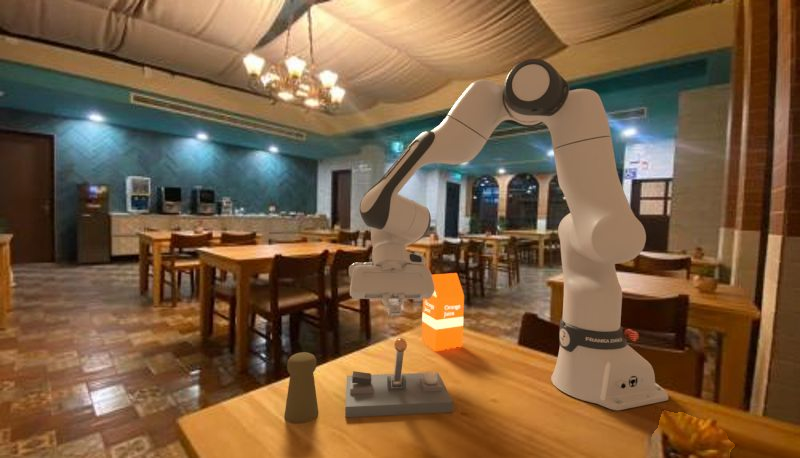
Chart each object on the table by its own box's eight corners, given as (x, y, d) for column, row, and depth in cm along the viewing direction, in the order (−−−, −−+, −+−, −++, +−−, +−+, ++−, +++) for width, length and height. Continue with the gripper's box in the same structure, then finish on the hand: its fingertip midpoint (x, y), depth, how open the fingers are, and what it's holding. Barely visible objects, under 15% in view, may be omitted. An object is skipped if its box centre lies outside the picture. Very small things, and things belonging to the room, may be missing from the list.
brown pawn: (309, 425, 63) (310, 364, 62) (277, 420, 64) (278, 360, 63) (323, 406, 69) (324, 350, 68) (294, 402, 70) (294, 347, 69)
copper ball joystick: (401, 379, 74) (406, 335, 68) (402, 389, 72) (408, 345, 66) (389, 379, 74) (394, 335, 67) (390, 390, 72) (395, 345, 65)
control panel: (438, 381, 80) (438, 363, 80) (452, 412, 68) (453, 391, 68) (346, 384, 77) (346, 366, 77) (345, 417, 65) (345, 396, 65)
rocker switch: (369, 379, 73) (370, 373, 73) (370, 385, 71) (371, 379, 71) (352, 376, 72) (353, 371, 72) (352, 382, 70) (353, 376, 70)
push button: (435, 378, 75) (435, 371, 75) (438, 384, 72) (438, 377, 72) (423, 378, 74) (423, 371, 74) (425, 384, 72) (425, 377, 72)
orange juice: (421, 341, 103) (423, 272, 102) (447, 337, 107) (449, 270, 106) (435, 351, 96) (437, 277, 95) (462, 347, 100) (465, 275, 98)
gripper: (349, 254, 86) (350, 307, 78) (431, 257, 91) (440, 307, 82) (347, 269, 91) (347, 320, 82) (425, 271, 95) (433, 319, 87)
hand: (394, 314), depth 82 cm, fingers closed
